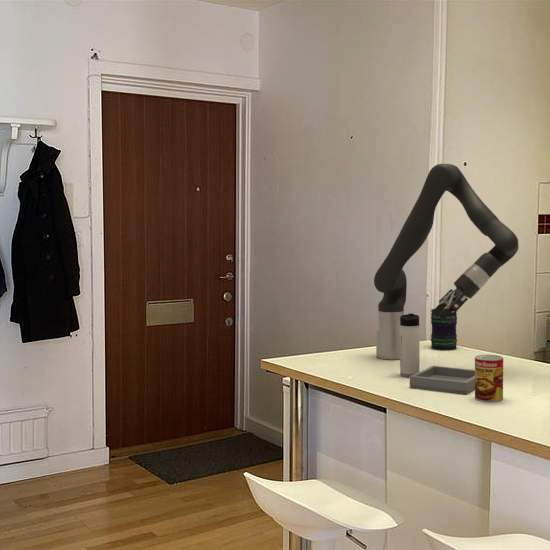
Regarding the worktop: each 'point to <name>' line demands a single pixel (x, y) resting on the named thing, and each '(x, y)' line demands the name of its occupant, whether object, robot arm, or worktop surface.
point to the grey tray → (444, 380)
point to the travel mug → (409, 345)
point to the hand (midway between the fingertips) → (437, 316)
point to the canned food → (489, 378)
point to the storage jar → (444, 332)
